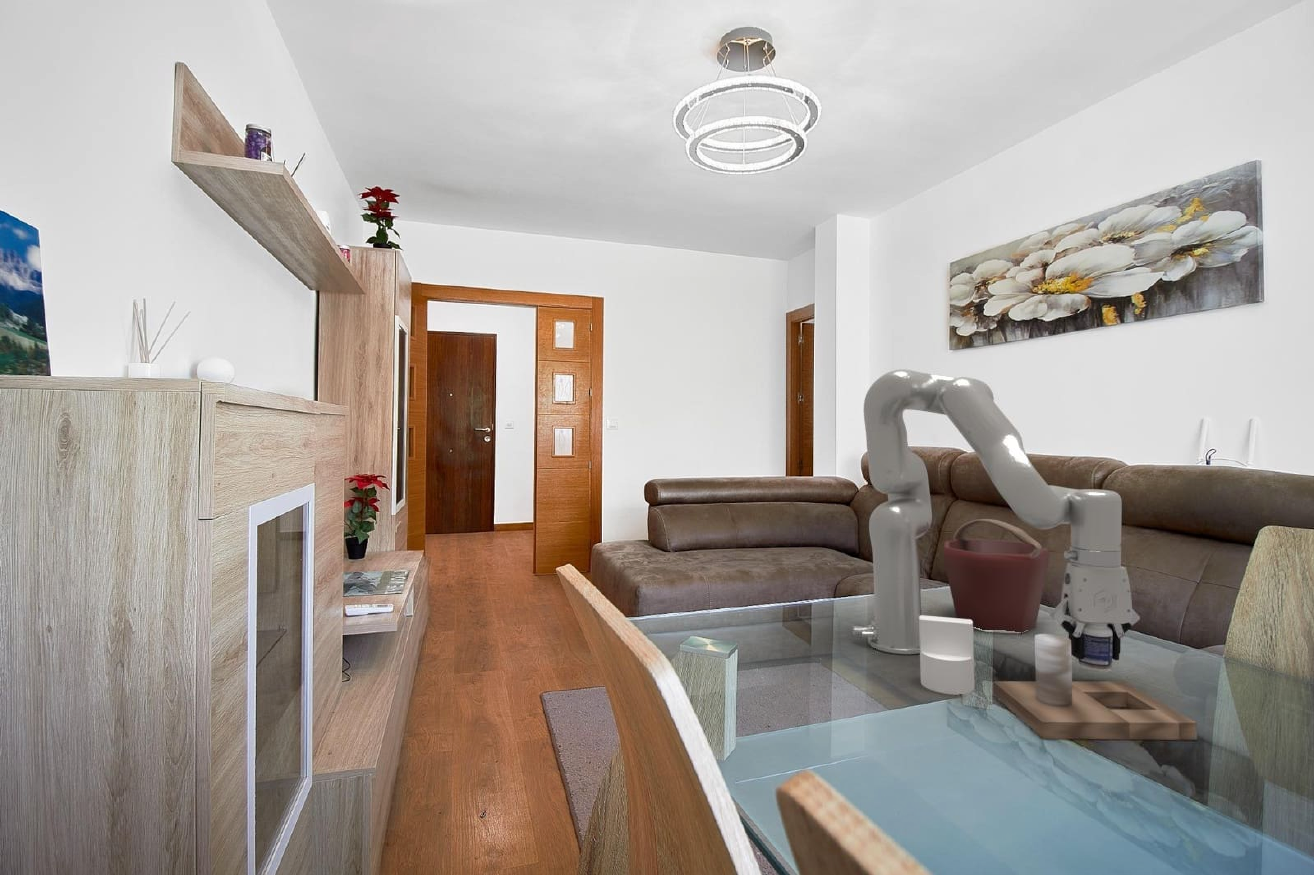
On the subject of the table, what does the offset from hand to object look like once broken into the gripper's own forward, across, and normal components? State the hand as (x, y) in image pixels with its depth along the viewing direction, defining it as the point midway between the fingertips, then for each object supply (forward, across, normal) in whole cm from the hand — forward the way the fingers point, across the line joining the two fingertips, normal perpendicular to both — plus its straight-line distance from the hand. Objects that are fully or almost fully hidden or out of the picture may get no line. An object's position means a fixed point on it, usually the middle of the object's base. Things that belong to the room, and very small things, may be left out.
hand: (1094, 656), depth 116 cm
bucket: (+6, -1, +37) cm, 38 cm away
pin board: (+5, -9, -14) cm, 17 cm away
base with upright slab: (+6, -26, -1) cm, 27 cm away
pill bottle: (+2, 0, 0) cm, 2 cm away
